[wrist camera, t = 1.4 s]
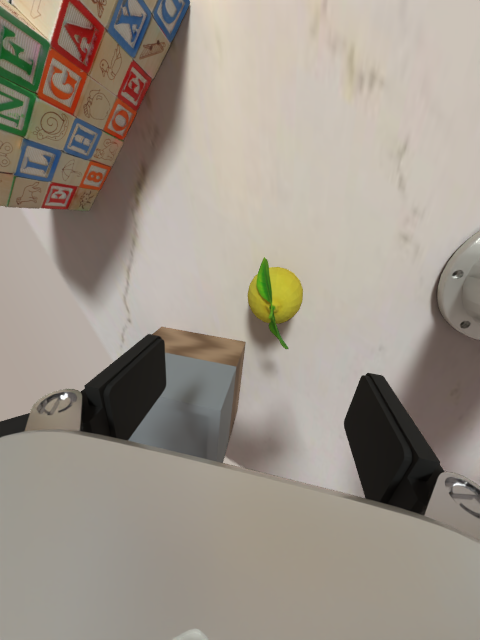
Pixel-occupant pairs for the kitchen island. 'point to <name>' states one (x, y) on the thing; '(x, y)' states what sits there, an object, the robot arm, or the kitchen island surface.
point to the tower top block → (191, 409)
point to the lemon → (275, 296)
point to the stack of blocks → (73, 91)
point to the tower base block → (207, 353)
